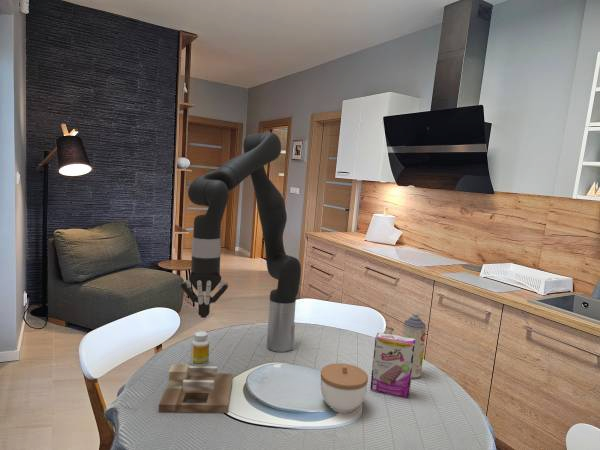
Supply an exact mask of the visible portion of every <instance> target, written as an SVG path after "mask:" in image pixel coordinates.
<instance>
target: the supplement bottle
mask: <svg viewBox="0 0 600 450" xmlns="http://www.w3.org/2000/svg"><path fill="white" fill-rule="evenodd" d="M193 336H194V337H193V338H194V339H193V340H192V342H191V353H190V354H191V355H190V363H191V365H192V366H207V365H208V363H209V353H210V340H209V339H208V332H206V331H197V332H195V333H194V334H193Z"/></svg>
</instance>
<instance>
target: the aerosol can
mask: <svg viewBox="0 0 600 450" xmlns="http://www.w3.org/2000/svg"><path fill="white" fill-rule="evenodd" d="M402 326H403V327H402V337H407V338H412V339H415V340H416V341H415V350H414V359H413V368H412V377H411V380H419V379H421V377H422V369H423V358H424V350H425V349H424V348H425V340H426V339H425V338H426V332H427V330H426V329H427V327H426V323H425V322H423V319H421V318H420V316H419V313H417V312H413V313H412V316H410V317H409V318H408V319H406V320H404V322H403V325H402Z"/></svg>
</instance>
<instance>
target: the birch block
mask: <svg viewBox="0 0 600 450" xmlns="http://www.w3.org/2000/svg"><path fill="white" fill-rule="evenodd" d="M189 366H190V364H181V363H172V365H171V367H170V368H169V370H168V384H167V385H168V386H183V380H188V376H189Z"/></svg>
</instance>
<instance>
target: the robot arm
mask: <svg viewBox="0 0 600 450" xmlns="http://www.w3.org/2000/svg"><path fill="white" fill-rule="evenodd" d="M242 147H243V153H242V154H240V155H237V156H234V157H232V158H230V159H229V160H227V161H226V162H224V163H222V165H220V166H219V167H217V169H215V170H212V171H209V172H208V173H204V174H202V175H200V176H198V177H196V178H195V179H194V180H192V182H191V183H190V185H189V187H188V189H187V196H188V200H189V201H190V202H191V203H193V204H194V205H197V206H203V207H208V208H207V211H206V213H205V214H199V215H196V216H195V218H194V219H193V235H192V236H193V238H192V244H191V251H190V253H191V264H190V265H191V267H190V268H191V269H190V274H189V277H188V278H187V279H186V280H185V281H183V282H181V284H180V288H181V289H182V290H183V292H184V293H185V294H186V296H187V297H188V298H189V300H191V302H192V303H197V304H198V316H200V318H202V319H203V318H204V319H205V318H207V317H209V315H210V311H211V310H210V309H211V304H212V303H216V302H217V301H218V300H219V299H220V297H221V296H222V295H223V294H224V293H225V292H226V291H227V289H228V287H229V284H228V282H224V280H222V275H221V273H220V272H221V250H222V249H221V248H222V247H221V246H222V245H221V226H222V221H223V218H224V214H225V210H226V207H227V204H228V201H229V196H230V195H229V192H230V191H233V190H234V189H235V188H236V187H238V185H240V184H241V183H242V182H243V181H244V180H245V179H246V178H248V177H249V176H250V178H251V182H252V186H253V191H254V195H255V200H256V207H257V208H256V209H257V211H258V216H259V220H260V221H259V222H260V226H261V231H262V236H263V241H264V242H263V243H264V248H265V262H266V268H267V273H268V274H269V276H271V277H272V278H273V279H276V280H277V287H276V288H275V289H272V290H271V291H270V293H269V301H268V302H269V305H268V322H267V323H268V324H267V334H266V337H267V339H266V348H267V349H268V350H270V351H272V352H278V353H283V352H284V353H285V352H289V351H294V345H295V344H294V343H295V341H294V340H295V329H296V328H295V327H296V323H295V319H296V317H295V316H296V301H297V296H298V294H299V290H300V285H301V284H300V282H301V276H302V275H301V273H302V267H301V263H300V260H299V259H298V258H296V257H294V256H292V255H288V254H286V251H285V247H284V239H283V238H284V232H285V228H286V224H287V219H288V218H287V217H288V216H287V215H288V214H287V210H286V205H285V204H286V203H285V199H284V197H283V195H282V193H281V192H280V190H279V189H278V188H277V187H276V186H275V185H274V183H273V182H272V180H270V178H269V175H268V173H267V171H266V168H265V166H266V165H268V164H269V163H272V162H273V161H275V160H277V159H278V158H279V156H280V155H281V152H282V142H281V139H280V137H279V136H278V135H277V134H276V133H274V132H271V131H267V132H259V133H251V134H248V135H246V136H245V137H244V139H243V146H242ZM217 286H218V290H217V291H216V292H215V294H214V295H213V296H212V292H213V291H214V290H215V289H216V288H217ZM192 287H193V288H194V289H195V290H196V291H197V294H196V292H194V290H193V289H192Z"/></svg>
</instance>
